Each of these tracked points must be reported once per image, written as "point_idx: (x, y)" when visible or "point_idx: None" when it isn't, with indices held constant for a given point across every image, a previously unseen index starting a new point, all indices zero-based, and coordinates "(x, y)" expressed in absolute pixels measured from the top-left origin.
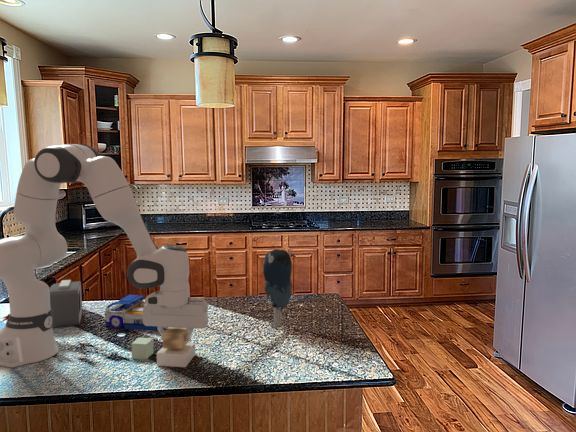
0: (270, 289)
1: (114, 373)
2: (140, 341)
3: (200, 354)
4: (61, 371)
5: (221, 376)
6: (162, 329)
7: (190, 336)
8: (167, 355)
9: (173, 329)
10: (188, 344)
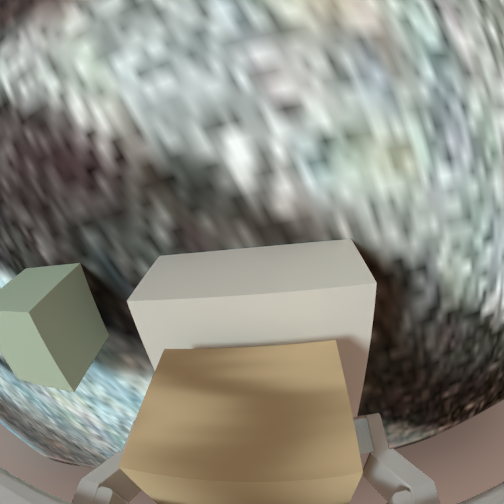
0: None
1: (107, 422)
2: (23, 359)
3: (384, 224)
4: (7, 397)
5: (481, 382)
6: (117, 483)
7: (384, 431)
8: None
9: None
10: (330, 323)
